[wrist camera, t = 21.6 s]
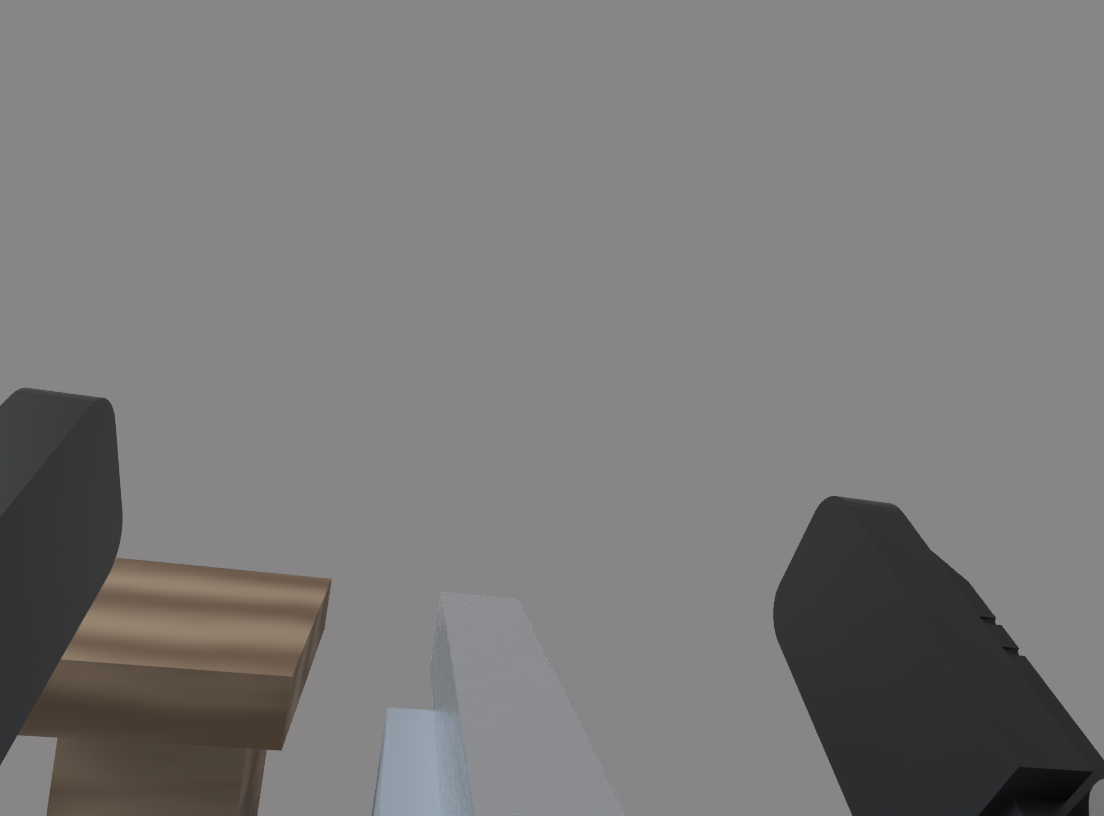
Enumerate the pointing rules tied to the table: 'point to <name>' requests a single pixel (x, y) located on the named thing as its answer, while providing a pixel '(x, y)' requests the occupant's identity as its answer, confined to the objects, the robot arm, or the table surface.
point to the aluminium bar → (506, 720)
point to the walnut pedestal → (178, 689)
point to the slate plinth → (407, 766)
